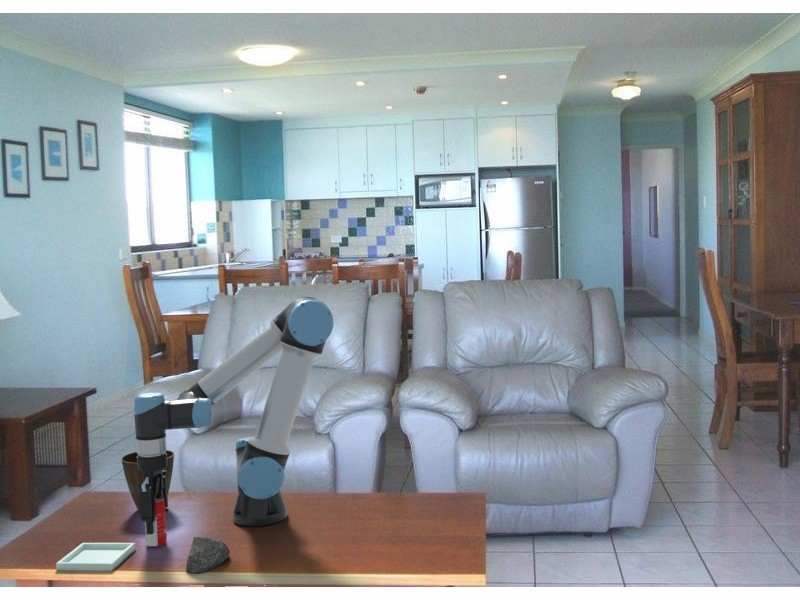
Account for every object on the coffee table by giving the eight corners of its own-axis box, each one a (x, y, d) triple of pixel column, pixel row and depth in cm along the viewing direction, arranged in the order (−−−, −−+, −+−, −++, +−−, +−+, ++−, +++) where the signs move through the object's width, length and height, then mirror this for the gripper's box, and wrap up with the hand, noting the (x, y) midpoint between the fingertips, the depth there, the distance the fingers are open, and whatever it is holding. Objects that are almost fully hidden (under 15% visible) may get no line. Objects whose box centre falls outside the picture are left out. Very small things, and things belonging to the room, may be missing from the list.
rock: (200, 552, 216) (199, 527, 216) (234, 553, 216) (233, 527, 215) (183, 574, 203) (182, 547, 202) (219, 574, 202) (218, 547, 202)
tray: (135, 549, 220) (135, 542, 220) (112, 570, 206) (112, 563, 206) (83, 549, 221) (82, 542, 221) (56, 570, 208) (56, 563, 207)
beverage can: (161, 548, 221) (158, 502, 220) (142, 547, 222) (140, 501, 221) (170, 541, 226) (168, 496, 225) (152, 540, 227) (149, 495, 226)
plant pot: (168, 516, 246) (165, 461, 245) (117, 518, 246) (113, 463, 245) (182, 500, 261) (180, 448, 260) (133, 502, 261) (130, 450, 260)
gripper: (151, 445, 231) (155, 529, 233) (123, 462, 213) (128, 554, 215) (178, 444, 231) (182, 529, 232) (152, 462, 213) (157, 554, 214)
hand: (156, 541), depth 224 cm, fingers closed on beverage can, 5 cm apart
